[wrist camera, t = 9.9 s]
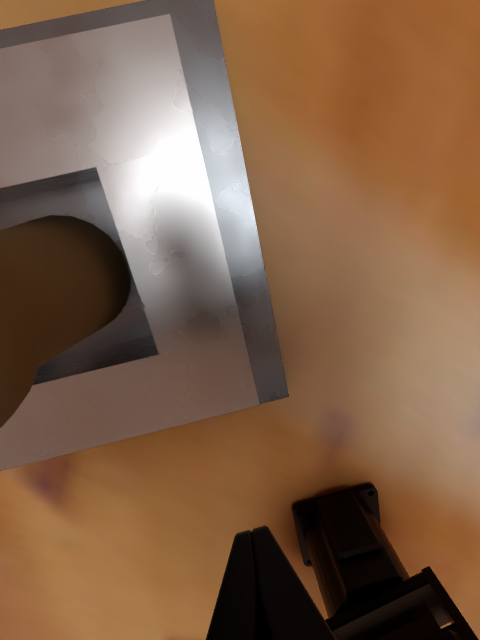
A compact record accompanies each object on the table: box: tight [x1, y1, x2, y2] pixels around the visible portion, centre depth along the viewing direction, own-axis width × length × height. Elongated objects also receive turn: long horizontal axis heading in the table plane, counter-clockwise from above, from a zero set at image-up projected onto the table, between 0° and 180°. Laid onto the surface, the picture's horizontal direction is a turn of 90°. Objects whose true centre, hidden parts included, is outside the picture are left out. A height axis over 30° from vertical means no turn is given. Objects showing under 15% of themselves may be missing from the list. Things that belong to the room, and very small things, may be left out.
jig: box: [0, 0, 289, 471], centre depth 15 cm, size 20×20×4 cm
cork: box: [0, 215, 130, 428], centre depth 11 cm, size 6×6×11 cm
